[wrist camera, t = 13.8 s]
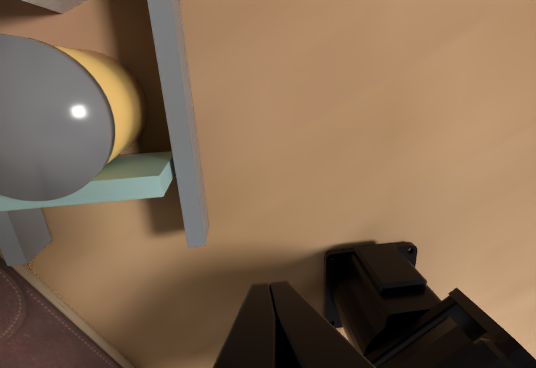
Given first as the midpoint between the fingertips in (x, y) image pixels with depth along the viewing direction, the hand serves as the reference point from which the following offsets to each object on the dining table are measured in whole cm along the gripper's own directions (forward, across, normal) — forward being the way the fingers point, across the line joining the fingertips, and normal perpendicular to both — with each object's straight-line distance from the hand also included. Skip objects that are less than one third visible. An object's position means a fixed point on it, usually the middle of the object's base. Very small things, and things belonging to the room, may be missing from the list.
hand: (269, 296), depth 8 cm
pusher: (+12, +8, 0) cm, 14 cm away
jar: (+12, +8, -4) cm, 15 cm away
